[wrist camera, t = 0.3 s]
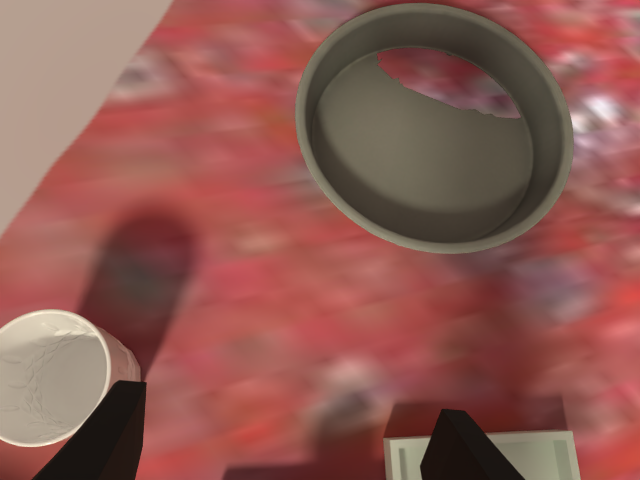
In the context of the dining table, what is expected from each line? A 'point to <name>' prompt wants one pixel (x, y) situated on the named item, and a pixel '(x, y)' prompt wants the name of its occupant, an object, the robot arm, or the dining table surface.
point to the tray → (518, 447)
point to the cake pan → (432, 133)
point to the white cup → (56, 375)
